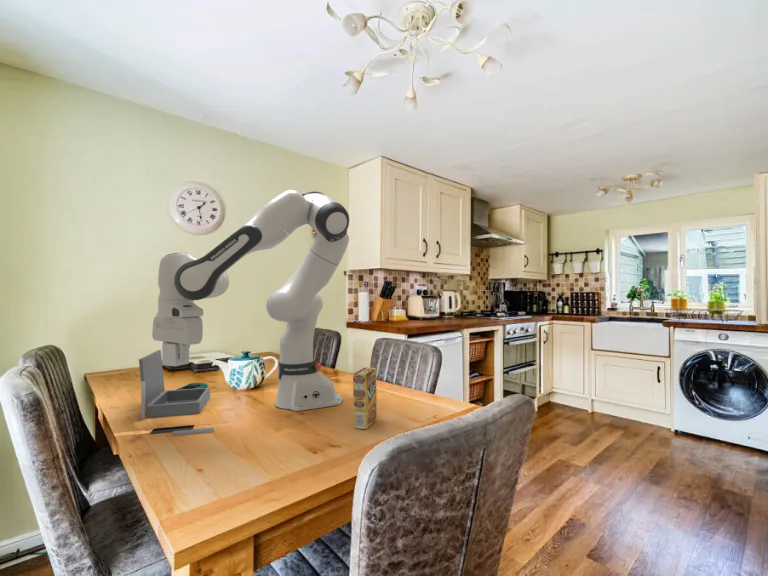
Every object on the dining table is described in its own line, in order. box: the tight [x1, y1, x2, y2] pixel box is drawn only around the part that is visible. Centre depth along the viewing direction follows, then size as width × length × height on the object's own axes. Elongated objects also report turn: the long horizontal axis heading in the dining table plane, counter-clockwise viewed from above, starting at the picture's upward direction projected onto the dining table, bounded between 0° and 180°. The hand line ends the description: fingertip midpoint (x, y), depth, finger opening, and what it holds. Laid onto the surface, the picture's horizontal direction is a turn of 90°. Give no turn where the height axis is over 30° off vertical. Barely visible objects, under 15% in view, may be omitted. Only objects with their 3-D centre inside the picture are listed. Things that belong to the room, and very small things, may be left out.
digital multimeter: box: [175, 382, 209, 390], centre depth 138 cm, size 7×15×3 cm, turn 175°
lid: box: [138, 349, 166, 408], centre depth 116 cm, size 14×18×1 cm
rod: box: [171, 426, 215, 437], centre depth 99 cm, size 10×1×1 cm, turn 106°
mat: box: [149, 424, 195, 435], centre depth 105 cm, size 10×10×1 cm
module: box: [161, 342, 190, 367], centre depth 105 cm, size 5×4×6 cm
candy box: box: [352, 367, 378, 430], centre depth 106 cm, size 9×4×15 cm, turn 162°
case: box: [140, 381, 211, 421], centre depth 118 cm, size 15×20×12 cm
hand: (176, 358), depth 105 cm, fingers closed on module, 5 cm apart
